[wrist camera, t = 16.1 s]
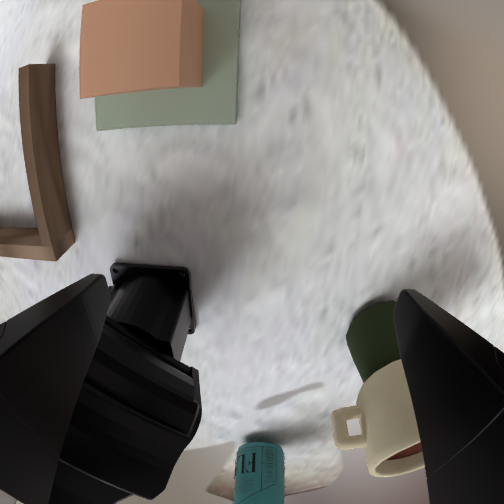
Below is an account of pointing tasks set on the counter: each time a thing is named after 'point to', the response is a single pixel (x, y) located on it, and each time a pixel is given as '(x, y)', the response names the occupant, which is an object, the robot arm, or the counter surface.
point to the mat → (187, 99)
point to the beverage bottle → (259, 474)
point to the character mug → (380, 398)
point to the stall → (40, 172)
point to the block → (140, 46)
